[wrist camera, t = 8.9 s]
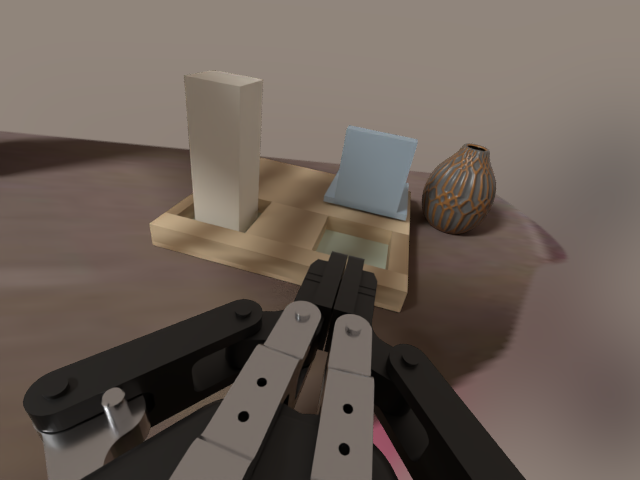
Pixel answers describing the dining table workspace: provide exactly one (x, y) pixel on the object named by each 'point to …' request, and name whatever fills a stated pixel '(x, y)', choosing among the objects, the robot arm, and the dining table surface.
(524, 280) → the dining table surface
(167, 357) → the robot arm
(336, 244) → the puzzle board
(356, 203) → the blue l-shaped block
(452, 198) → the vase
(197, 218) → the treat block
